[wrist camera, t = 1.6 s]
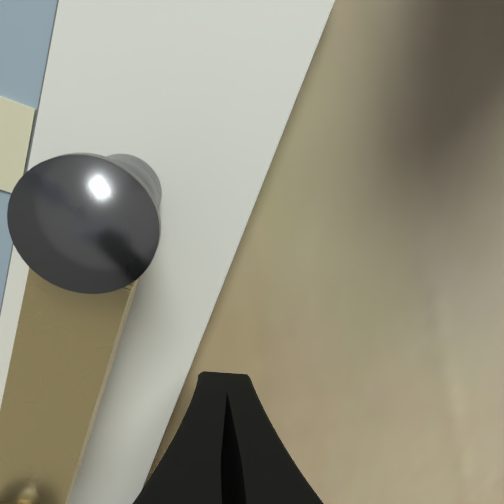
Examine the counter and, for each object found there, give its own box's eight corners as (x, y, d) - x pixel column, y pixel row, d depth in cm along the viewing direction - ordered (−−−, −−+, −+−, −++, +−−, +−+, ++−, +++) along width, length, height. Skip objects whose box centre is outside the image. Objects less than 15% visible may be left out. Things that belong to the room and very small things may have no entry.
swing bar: (66, 231, 10) (11, 279, 8) (146, 256, 11) (122, 309, 8) (8, 484, 14) (-47, 583, 11) (71, 495, 14) (35, 593, 11)
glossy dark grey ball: (74, 210, 12) (-4, 270, 8) (95, 119, 11) (20, 131, 7) (164, 240, 12) (137, 310, 8) (191, 155, 11) (176, 186, 7)
